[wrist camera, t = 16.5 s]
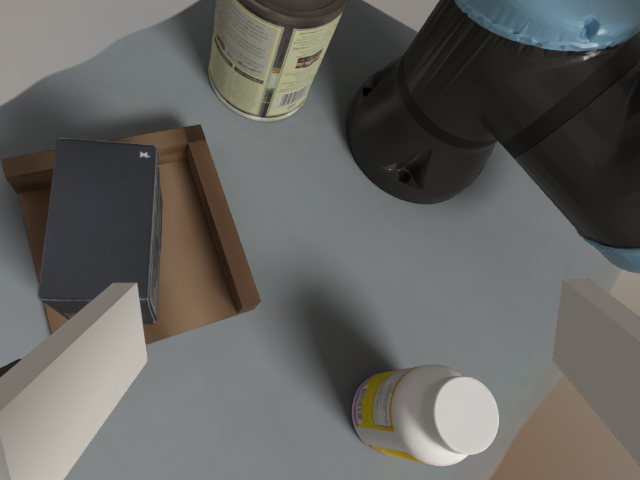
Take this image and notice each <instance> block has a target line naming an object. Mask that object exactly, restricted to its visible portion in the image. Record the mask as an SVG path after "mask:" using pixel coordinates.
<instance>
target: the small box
mask: <svg viewBox="0 0 640 480" xmlns="http://www.w3.org/2000/svg"><path fill="white" fill-rule="evenodd" d="M162 207H163V202H162V195H161V188H160V172H159V159H158V148H157V146H156V145H153V144H136V143H125V142H111V141H99V140H87V139H73V138H58V139H57V142H56V151H55V160H54V168H53V177H52V185H51V194H50V202H49V210H48V218H47V226H46V234H45V242H44V251H43V258H42V266H41V274H40V281H39V289H38V299H39V300H41V301H42V302H44V303H45V304H47V305H48V306H50V307H51V308H52V309H54V310H55V311H57V312H58V313H59V314H61V315H62V316H63V317H65V318H66V319H67V320H69V319H71V318H72V317H73V316H74V315H75V314H77V313H78V312H79V311H80V310H81V309H83V308H84V307H85V306H86V305H87V304H88V303H90V302H91V301H92V300H93V299H94V298H96V297H97V296H98V295H99V294H100V293H102V292H103V291H104V290H105V289H106V288H108V287H109V286H110V285H111V284H112V283H137V286H138V293H139V301H140V308H141V316H142V323H143V324H154V323H156V321H157V306H158V286H159V270H160V251H161V242H162V241H161V236H162V235H161V233H162Z"/></svg>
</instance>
